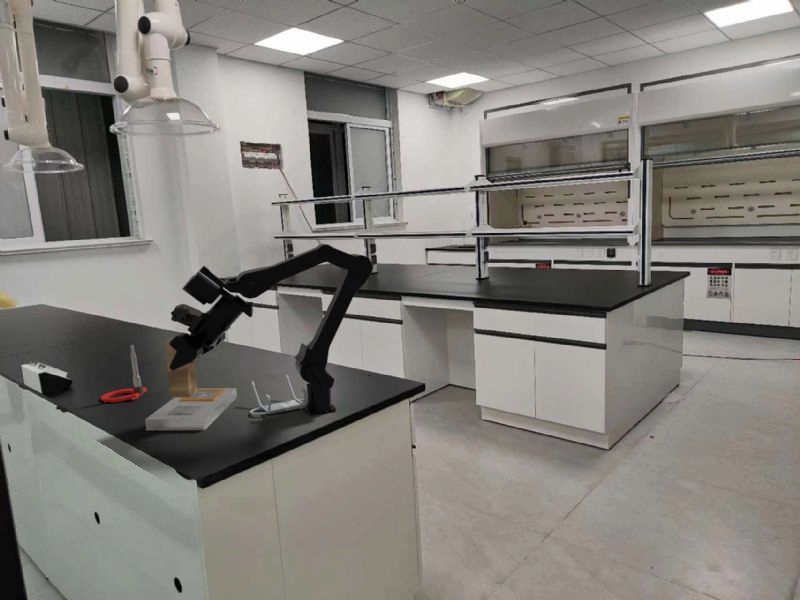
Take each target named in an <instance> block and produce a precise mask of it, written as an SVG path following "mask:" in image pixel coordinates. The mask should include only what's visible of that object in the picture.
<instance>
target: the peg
mask: <svg viewBox="0 0 800 600" xmlns="http://www.w3.org/2000/svg"><path fill="white" fill-rule="evenodd" d="M175 336H176V335H175ZM175 336H174V335H173V336H172V337H170V338H168V339H166V340H165V351H166V353H165V354H166V363H167V364H166V365H167V376H168V387H169V398H170V399H173V398H178V397H191V396H192V395H193V394H195V393H196V392H197V388H198V384H197V383H198V382H197V369H196V360H195V361H194V362H192V363H188V364H186V365H184V366H182V367H180V368H177V369H175V370H173V371H172V370H171V369H170V368H169V366H170V364H171V362H172V360H173V358H174V356H175V354H176V352H177V351H176V350H175V349H174V348H172V347H171V346H170V344H169V342H170V341H171V340H172V339H173V338H174V337H175Z"/></svg>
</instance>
